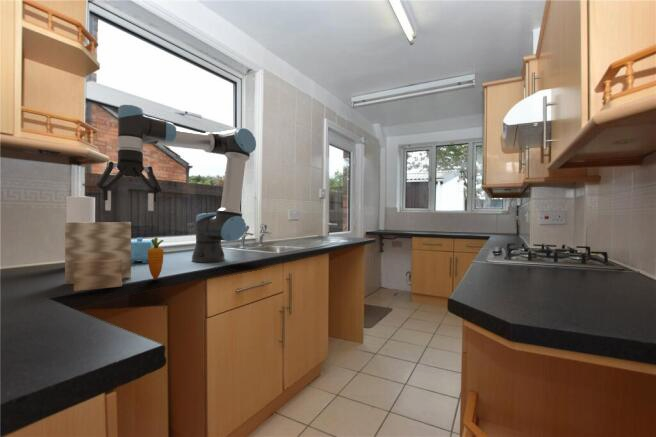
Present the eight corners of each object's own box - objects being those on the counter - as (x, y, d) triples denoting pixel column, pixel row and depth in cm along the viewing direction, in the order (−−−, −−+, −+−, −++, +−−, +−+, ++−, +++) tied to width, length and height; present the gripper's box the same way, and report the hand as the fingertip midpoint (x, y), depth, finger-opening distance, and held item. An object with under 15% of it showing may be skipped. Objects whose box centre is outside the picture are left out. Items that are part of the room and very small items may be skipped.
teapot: (160, 258, 157) (160, 236, 157) (154, 264, 140) (154, 239, 140) (123, 259, 151) (124, 236, 151) (112, 266, 135) (113, 240, 134)
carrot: (152, 278, 112) (153, 236, 112) (166, 278, 112) (166, 236, 111) (144, 281, 107) (144, 237, 107) (158, 281, 107) (158, 237, 106)
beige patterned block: (130, 277, 112) (130, 222, 112) (133, 284, 101) (133, 223, 101) (65, 283, 102) (65, 222, 102) (60, 292, 91) (60, 224, 91)
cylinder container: (79, 269, 126) (79, 195, 126) (60, 268, 128) (60, 195, 128) (100, 265, 136) (100, 196, 135) (82, 264, 138) (82, 196, 137)
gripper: (162, 156, 122) (161, 210, 123) (83, 145, 103) (83, 209, 103) (171, 155, 118) (171, 211, 118) (91, 142, 98) (91, 210, 98)
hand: (130, 210), depth 111 cm, fingers open, 13 cm apart
